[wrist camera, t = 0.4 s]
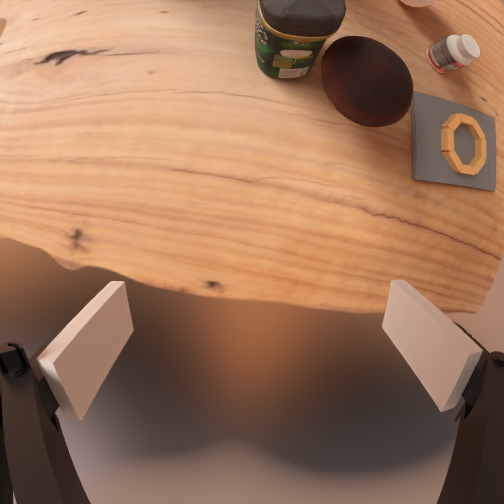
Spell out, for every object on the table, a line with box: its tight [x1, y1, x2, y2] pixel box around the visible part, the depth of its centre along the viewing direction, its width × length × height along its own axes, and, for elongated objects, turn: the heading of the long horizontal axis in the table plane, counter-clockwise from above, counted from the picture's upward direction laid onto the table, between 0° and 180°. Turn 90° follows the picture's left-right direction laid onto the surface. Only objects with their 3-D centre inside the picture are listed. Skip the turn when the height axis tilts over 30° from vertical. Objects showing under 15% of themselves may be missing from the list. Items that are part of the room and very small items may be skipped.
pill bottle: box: [426, 34, 480, 73], centre depth 27 cm, size 5×5×10 cm
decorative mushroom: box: [321, 36, 413, 127], centre depth 28 cm, size 11×11×15 cm
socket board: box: [411, 91, 496, 191], centre depth 35 cm, size 14×20×3 cm
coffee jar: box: [255, 0, 346, 78], centre depth 24 cm, size 10×8×19 cm
